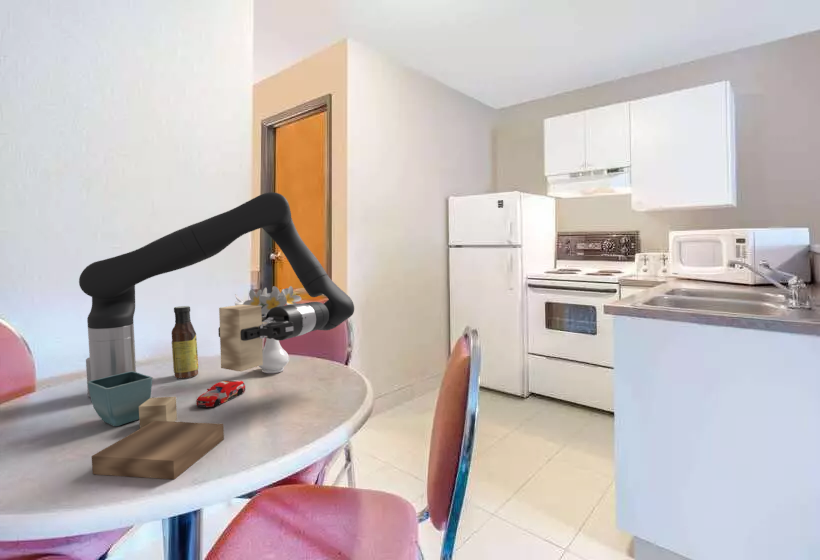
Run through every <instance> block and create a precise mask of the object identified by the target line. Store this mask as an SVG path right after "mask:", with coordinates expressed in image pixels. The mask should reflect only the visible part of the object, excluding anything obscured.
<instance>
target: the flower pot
mask: <svg viewBox="0 0 820 560" xmlns="http://www.w3.org/2000/svg"><path fill="white" fill-rule="evenodd" d="M87 383H88V388H89V392H90V396H91V397H90V400H91V403H92V406H93V409H94V411H95V412H96V413H97V415H98V417H99V419H100V418H101V420H102V421H103V422H104V423H106V424H109V425H110V426H113V427H119V426H122V425H125V424H128V423H131V422H134V421H139V406H140V405H141V404H143V403H144V402H146V401H147V400H148V399H150V398H152V389H153V388H152V387H153V377H152V376H151V375H146V374H143V373H141V372H137V371H136V372H134V371H131V372H126V373H122V374H118V375H113V376H109V377H105V378H101V379H96V380H92V381H88V382H87V381H86V384H87ZM88 388H87V389H88Z"/></svg>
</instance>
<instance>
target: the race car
mask: <svg viewBox="0 0 820 560" xmlns="http://www.w3.org/2000/svg"><path fill="white" fill-rule="evenodd" d="M245 392H246V384H245V382H244V381H243V380H237V379H236V380H222V381H219V382H216V383H215V384H213V385H212V386H211V387H210V388H206V392H203V393H201V394H200V395H199V396H197V398H196V401H195V403H196V406H197V407H199V408H212V407H213V408H217V407H219V406H220V405H221V404H223V403H226V402H228V401H230V400H232V399H234V398H236V397H238V396H239V397H240V396H242V395H243V393H245Z"/></svg>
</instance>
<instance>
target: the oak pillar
mask: <svg viewBox="0 0 820 560" xmlns="http://www.w3.org/2000/svg"><path fill="white" fill-rule="evenodd" d="M261 309H262V307H261V306H254V305H235V304H234V305H228V306H223V307H222V306H221V307H218V312H219V313H218V315H219V317H218V318H219V327H220V337H219V347H220V348H219V349H220V368H221V369H223V370H224V369H225V370H231V371H235V372H240V373H241V372H246V371H248V370H251V369H254V368H257V367H259V366H261V365H263V352H262V350H263V338H262V339H260V338H255V339H251V340H247V341H242V340H241V330H242V329H246V328H251V327H255V326H256V327H258V326H259V325H262V316H263V314H262V311H261Z"/></svg>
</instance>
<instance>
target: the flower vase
mask: <svg viewBox="0 0 820 560" xmlns="http://www.w3.org/2000/svg"><path fill="white" fill-rule="evenodd" d="M271 290H272V291H271V292H268V289H267V287H264V288H263V290H261V289H259V290H258V291H257V293H256V292H255V291H254V290H253V289H250V290H249V292H248V295H249V296H248V297H249V298H250V299H247V300H245V301H243V300H242V299H241V298H240V297H239V296H238V294H234V296H235V298H236V300H237V301H235V302H234V306H235V305H254V306H261V311H262V315H264V316H266V315H267V313H268V312H269V310H270V309H272V308H274V307H278V306H284V305H290V304H298V303H299V302H300V301H302V297H301V296H300V295H297V294H294V288H293V286H292V285H289V287H286V288H284V289H281V291H280V289H279V288H278V286H275V285H274V286H272V289H271ZM297 302H298V303H297ZM262 352H263V365H261V366H258V367H259V368H260V369H261V372H262V373H263V374H278V373H281V372H283V371H284V370H285V367H286V366H288V365H287V364H288V363H290V356H289V354H288V352H287V351H286V350H285V349H284V348H283V347H282V345H281V343H280V341H279V340H275V339H273V338H272V339H269V338H265V343H264V346H263V347H262Z"/></svg>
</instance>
